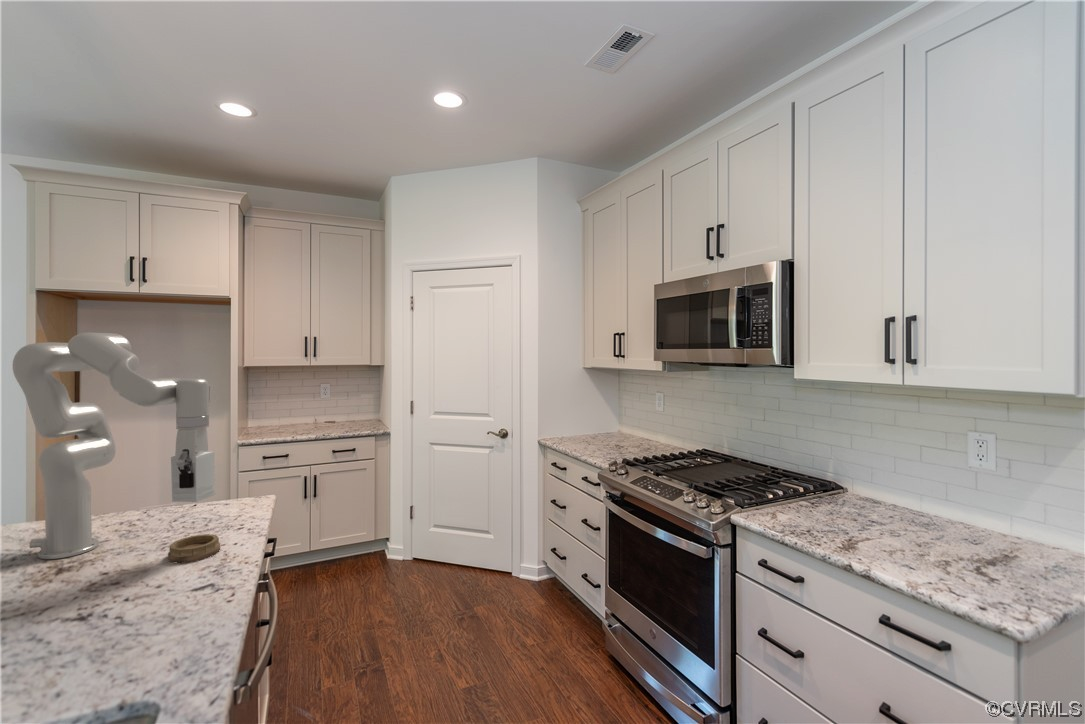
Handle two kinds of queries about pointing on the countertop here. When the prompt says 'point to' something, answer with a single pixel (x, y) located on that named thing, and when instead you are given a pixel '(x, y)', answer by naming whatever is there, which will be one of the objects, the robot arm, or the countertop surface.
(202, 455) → the supplement box
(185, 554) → the coaster tray
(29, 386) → the robot arm
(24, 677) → the countertop surface
